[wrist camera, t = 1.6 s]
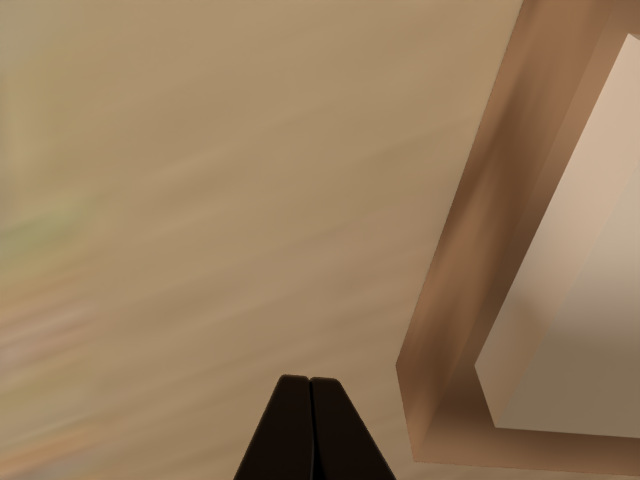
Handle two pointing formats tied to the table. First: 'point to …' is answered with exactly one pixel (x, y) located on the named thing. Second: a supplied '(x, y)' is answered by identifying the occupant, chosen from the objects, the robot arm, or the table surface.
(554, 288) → the tile
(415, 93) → the table surface
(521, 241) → the brown wooden block
